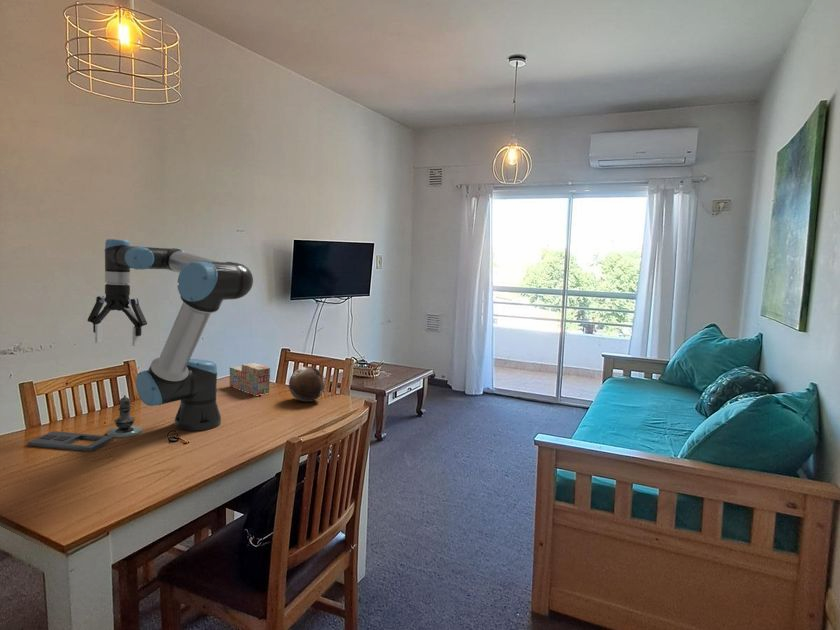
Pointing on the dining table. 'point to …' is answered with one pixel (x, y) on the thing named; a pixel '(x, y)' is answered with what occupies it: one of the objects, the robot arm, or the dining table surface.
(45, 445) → the grey compartment tray
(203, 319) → the robot arm
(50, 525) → the dining table surface
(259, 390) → the stack of blocks
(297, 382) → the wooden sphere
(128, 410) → the dark grey chess piece
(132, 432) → the coaster
